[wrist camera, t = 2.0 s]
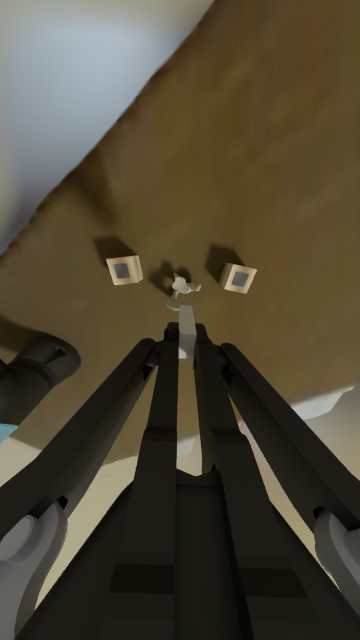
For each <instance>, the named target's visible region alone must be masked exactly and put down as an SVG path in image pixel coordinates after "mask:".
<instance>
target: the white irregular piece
mask: <svg viewBox="0 0 360 640" xmlns="http://www.w3.org/2000/svg"><path fill="white" fill-rule="evenodd" d="M174 278H175V282H174V283H173V285H172V288H173V289H174V292H173V294H172V296H171V297H170V298H169V299H168V300H167V301H166V306H167V307H169V308H171V309H172V310H180V305H185V306H189V304H187V303H182V304H180V303H178V302H177V295H178V293H179V292H180V293H189V292H191V291H199V290H200V288H201V284H198V283H197V282H194V283H186V280H185V279H184V278H183V277H180V276H179V275H177V274H176V273H175V272H174Z"/></svg>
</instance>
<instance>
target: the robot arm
mask: <svg viewBox="0 0 360 640" xmlns="http://www.w3.org/2000/svg"><path fill="white" fill-rule="evenodd" d="M193 356H194V362H193V368H192V369H194V376H195V386H196V397H197V407H198V418H199V428H200V438H201V450H202V475H199V476H193V475H191V474H188V473H186V472H184V471H181V470H179V469H177V468H176V458H177V400H178V364H179V358H185V359H193ZM80 364H81V359H80V356H79V354H78V353H77V351H76V350H75V349H74V348H73V347H72V346H71V345H69V344H68V343H66V342H65V341H63V340H60V339H58V338H55V337H49V336H41V337H37V338H35V339H33V340H32V341H30V342H28V343H27V344H26V345H25V346H24V347H23V348H22V350H21V351H20V352H19V353H18V355H17V356H16V357H15V358H14V359H13V360H12V361H11V362H10V363H9V364H6V363H5V362H3V361H2V360H1V359H0V444H1V443H2V442H3V441H4V440H5V439H6V438H7V437H8V436H9V435H10V434H11V433H12V432H13V431H14V430H15V429H17V428H18V427H19V425H20V423H21V422H22V421H23V420H24V419H25V418H26V417H27V416H28V415H29V414H30V412H31V411H32V410H33V409H34V408H35V407H36V406H37V405H38V404H39V403H40V401H41V400H42V399H43V398H44V397H45V396H46V395H47V394H48V393H49V391H50V390H51V389H52V388H53V387H54V386H56V385H57V384H59V383H60V382H62V381H63V380H65V379H66V378H68V377H70V376H71V375H73V374H74V373H75V372H76V370H77V369H78V368H79V367H80ZM158 365H159V367H158V372H157V377H156V382H155V387H154V392H153V397H152V402H151V408H150V413H149V418H148V423H147V427H146V429H145V431H144V434H143V438H142V442H141V447H140V452H139V456H138V461H137V466H136V471H135V476H134V481H132V482H131V483H130V484H129V485H128V486H127V487H126V488H125V489H124V490H123V491H122V492H121V494H120V495H119V496H118V498H117V499H116V500H115V502H114V503H113V504H112V506H111V507H110V508H109V510H108V511H107V513H106V514H105V515H104V517H103V518H102V519H101V521H100V522H99V523H98V525H97V526H96V528H95V529H94V530H93V532H92V533H91V535H90V536H89V537H88V538H87V540H86V541H85V543H84V544H83V545H82V547H81V548H80V549H79V551H78V552H77V554H76V555H75V556H74V558H73V559H72V561H71V562H70V563H69V565H68V566H67V567H66V569H65V570H64V571H63V573H62V574H61V576H60V577H59V578H58V580H57V581H56V582H55V584H54V585H53V587H52V588H51V589H50V591H49V592H48V593H47V595H46V596H45V598H44V599H43V600H42V602H41V603H40V604H39V606H38V607H37V608H36V610H35V605H36V602H37V599H38V595H39V592H40V590H41V587H42V585H43V583H44V580H45V578H46V576H47V574H48V573H49V571H50V569H51V567H52V565H53V564H54V562H55V560H56V559H57V557H58V555H59V553H60V551H61V549H62V546H63V544H64V542H65V538H66V534H67V525H68V522H67V519H68V517H69V516H70V515H71V513H72V512H73V510H74V509H75V508H76V506H77V505H78V503H79V502H80V500H81V499H82V497H83V496H84V494H85V493H86V491H87V489H88V487H89V486H90V484H91V483H92V481H93V479H94V478H95V476H96V474H97V472H98V470H99V469H100V467H101V465H102V463H103V461H104V459H105V458H106V456H107V454H108V452H109V450H110V449H111V447H112V445H113V443H114V441H115V440H116V438H117V436H118V434H119V432H120V431H121V429H122V427H123V425H124V423H125V422H126V420H127V418H128V416H129V414H130V412H131V411H132V409H133V407H134V405H135V403H136V402H137V400H138V398H139V396H140V394H141V393H142V391H143V389H144V387H145V385H146V384H147V382H148V380H149V378H150V376H151V375H152V373H153V371H154V369H155V367H156V366H158ZM228 394H229V395H230V397H231V399H232V401H233V402H234V404H235V406H236V408H237V409H238V411H239V413H240V415H241V416H242V418H243V420H244V422H245V423H246V425H247V427H248V429H249V430H250V432H251V434H252V436H253V437H254V439H255V441H256V443H257V444H258V446H259V448H260V450H261V451H262V453H263V455H264V457H265V458H266V460H267V462H268V463H269V465H270V467H271V469H272V470H273V472H274V474H275V476H276V477H277V479H278V481H279V483H280V485H281V486H282V488H283V490H284V491H285V493H286V495H287V496H288V498H289V500H290V501H291V503H292V504H293V506H294V507H295V509H296V510H297V512H298V513H299V515H300V516H301V518H302V519H303V520H304V522H305V523H306V525H307V526H308V527H309V528H310V530H311V531H312V533H313V534H314V538H315V542H316V543H315V551H316V554H317V557H318V559H319V561H320V563H321V565H322V566H323V567H324V569H325V570H326V571H327V572H328V573H329V574H331V575H332V577H333V579H334V580H335V581H336V583H337V585H338V587H339V589H340V590H339V589H338V588H337V586H336V585H335V584H334V583H333V581H332V580H331V579H330V577H329V576H328V575H327V574H326V572H325V571H324V570H323V568H322V567H321V566H320V565H319V563H318V562H317V561H316V559H315V558H314V557H313V556H312V554H311V553H310V552H309V550H308V549H307V548H306V547H305V545H304V544H303V543H302V541H301V540H300V539H299V537H298V536H297V535H296V534H295V532H294V531H293V530H292V528H291V527H290V526H289V525H288V523H287V522H286V521H285V519H284V518H283V517H282V515H281V514H280V513H279V512H278V510H277V509H276V508H275V506H274V505H273V504H272V503H271V501H270V500H269V497H268V494H267V491H266V489H265V486H264V483H263V480H262V477H261V474H260V471H259V468H258V465H257V462H256V460H255V457H254V454H253V451H252V448H251V445H250V443H249V441H248V439H247V437H246V436H245V435H244V434H242V433H241V432H240V430H239V427H238V424H237V420H236V417H235V414H234V411H233V408H232V405H231V401H230V398H229V395H228ZM340 591H341V592H340ZM34 610H35V611H34ZM0 640H360V481H359V480H358V479H357V478H356V477H355V476H353V475H352V474H351V473H350V472H349V471H348V470H347V468H346V467H345V466H344V465H343V464H342V463H341V462H340V461H339V460H338V459H337V457H336V456H335V455H334V454H333V453H332V452H331V451H330V450H329V449H328V448H327V446H326V445H325V444H324V443H323V442H322V441H321V440H320V439H319V438H318V437H317V435H316V434H314V432H313V431H312V430H311V429H310V428H309V427H308V426H307V424H306V423H305V422H304V421H303V420H302V419H301V418H300V417H299V416H298V415H297V413H296V412H295V411H294V410H293V409H292V408H291V407H290V406H289V405H288V404H287V402H286V401H285V400H284V399H283V398H282V397H281V396H280V395H279V394H278V393H277V391H276V390H275V389H274V388H273V387H272V386H271V385H270V384H269V383H268V382H267V380H266V379H265V378H264V377H263V376H262V375H261V374H260V373H259V372H258V371H257V369H256V368H255V367H254V366H253V365H252V364H251V363H250V362H249V361H248V360H247V358H246V357H245V356H244V355H243V354H242V353H241V352H240V351H239V350H238V349H237V347H236V346H234V345H233V344H230V343H222V344H221V346H218V345H215V344H213V343H212V341H211V340H210V339H209V338H208V336H207V332H206V329H205V326H204V325H203V324H198V323H195V322H194V316H193V310H192V306H185V305H180V312H179V323H178V322H170V323H168V325H167V328H166V329H165V330H164V340H162V341H159V342H155V341H154V340H153V339H151V338H145V339H142V340H141V341H140V342H139V343H138V344H137V345H136V346H135V347H134V348H133V349H132V351H131V352H130V353H129V354H128V355H127V356H126V357H125V358H124V360H123V361H122V362H121V363H120V364H119V365H118V366H117V367H116V369H115V370H114V371H113V372H112V373H111V374H110V375H109V376H108V378H107V379H106V380H105V381H104V382H103V383H102V384H101V385H100V387H99V388H98V389H97V390H96V391H95V392H94V393H93V394H92V395H91V397H90V398H89V399H88V400H87V401H86V402H85V403H84V404H83V406H82V407H81V408H80V409H79V410H78V411H77V412H76V413H75V415H74V416H73V417H72V418H71V419H70V420H69V421H68V422H67V424H66V425H65V426H64V427H63V428H62V429H61V430H60V431H59V433H58V434H57V435H56V436H55V437H54V438H53V439H52V440H51V442H50V443H49V444H48V445H47V446H46V447H45V448H44V449H43V451H42V452H41V453H40V454H39V455H38V456H37V457H36V459H34V460H33V461H32V462H31V463H30V464H28V465H27V466H26V467H25V468H23V469H22V470H21V471H20V472H18V473H17V474H16V475H15V476H14V477H12V478H11V479H10V480H9V481H7V482H6V483H5V484H4V485H2V486H1V487H0Z"/></svg>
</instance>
